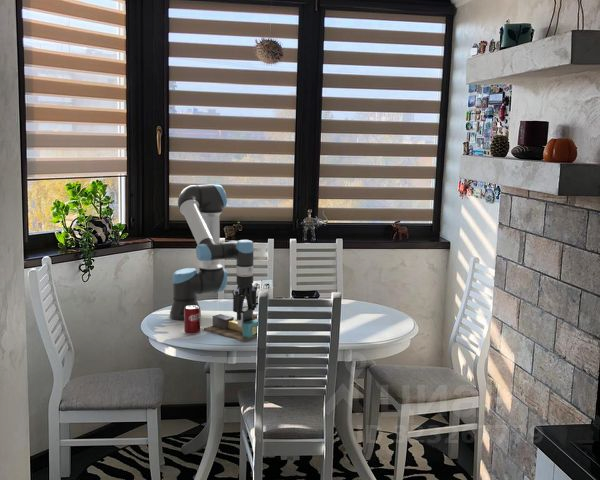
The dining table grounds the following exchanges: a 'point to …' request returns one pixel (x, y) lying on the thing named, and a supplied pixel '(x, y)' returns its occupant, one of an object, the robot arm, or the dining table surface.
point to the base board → (228, 333)
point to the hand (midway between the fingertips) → (244, 325)
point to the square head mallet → (246, 317)
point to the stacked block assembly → (221, 323)
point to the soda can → (192, 319)
